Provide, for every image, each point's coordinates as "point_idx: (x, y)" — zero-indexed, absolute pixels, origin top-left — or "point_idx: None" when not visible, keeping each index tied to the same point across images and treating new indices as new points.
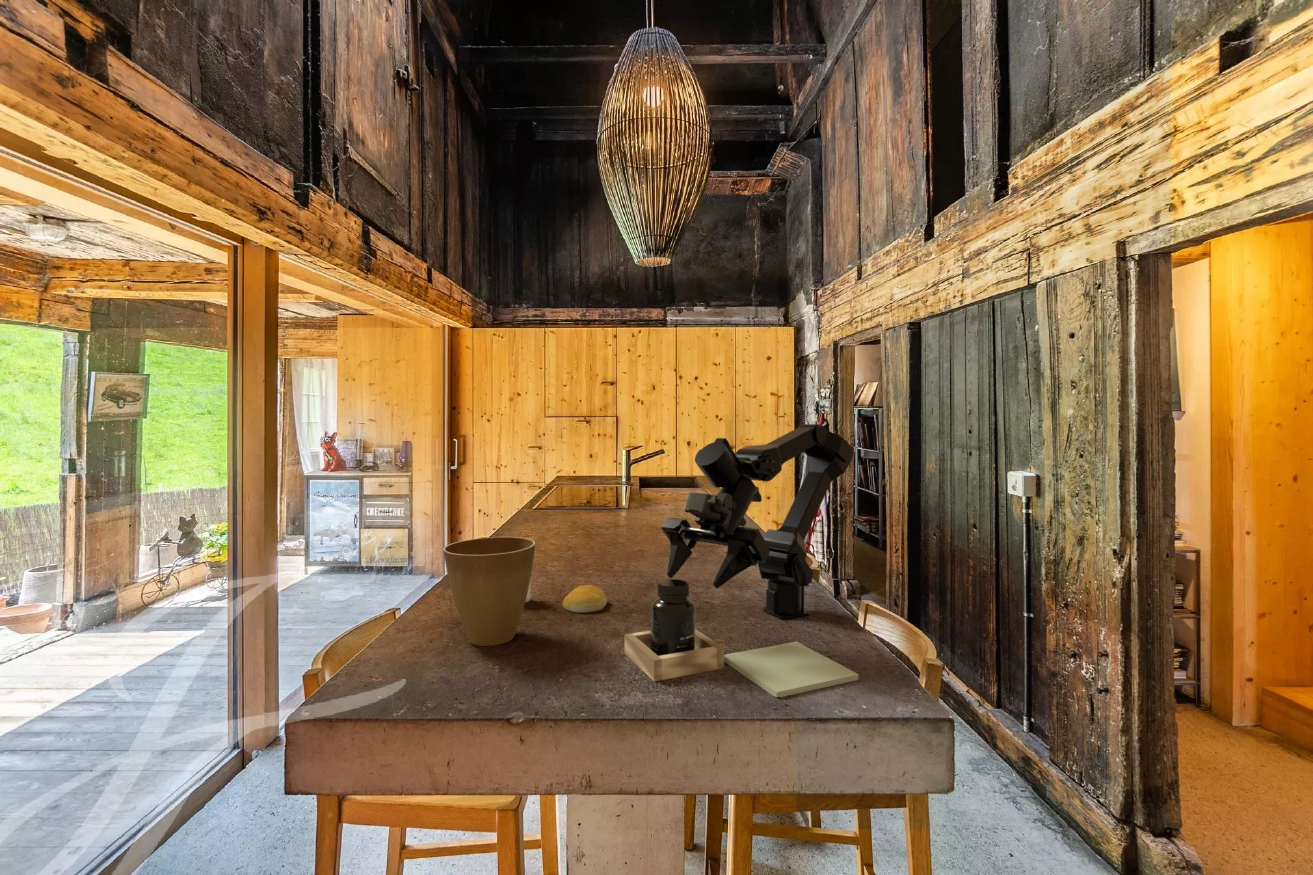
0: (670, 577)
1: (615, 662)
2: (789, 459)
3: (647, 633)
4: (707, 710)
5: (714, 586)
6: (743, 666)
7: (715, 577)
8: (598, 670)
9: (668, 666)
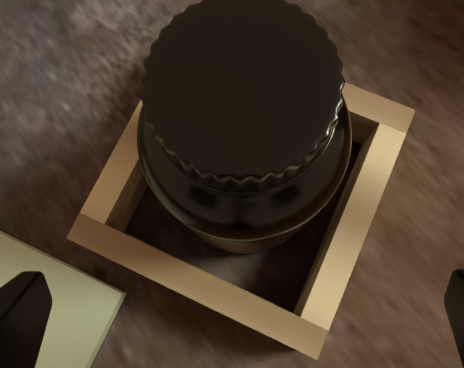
0: (446, 290)
1: (359, 71)
2: None
3: (364, 170)
4: (3, 25)
5: (46, 285)
6: (22, 258)
7: (15, 300)
8: (350, 9)
9: None
